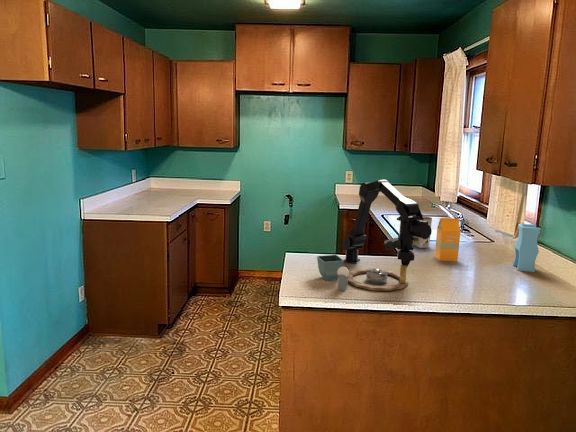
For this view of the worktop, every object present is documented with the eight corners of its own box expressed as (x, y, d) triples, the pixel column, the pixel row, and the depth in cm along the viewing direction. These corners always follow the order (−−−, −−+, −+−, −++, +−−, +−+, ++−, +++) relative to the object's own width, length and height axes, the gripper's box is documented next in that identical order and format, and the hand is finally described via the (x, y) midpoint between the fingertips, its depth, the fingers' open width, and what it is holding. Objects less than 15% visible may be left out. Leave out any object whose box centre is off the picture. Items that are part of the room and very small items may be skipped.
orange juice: (457, 261, 224) (461, 220, 220) (439, 260, 224) (442, 219, 220) (452, 256, 231) (456, 216, 228) (434, 256, 232) (437, 216, 228)
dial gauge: (338, 287, 185) (339, 264, 183) (349, 289, 183) (350, 266, 182) (336, 289, 183) (336, 266, 181) (346, 291, 181) (347, 268, 179)
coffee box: (409, 243, 255) (412, 214, 251) (420, 243, 256) (422, 214, 253) (419, 248, 246) (421, 217, 243) (429, 247, 248) (432, 217, 245)
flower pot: (323, 283, 190) (323, 261, 188) (316, 276, 198) (316, 255, 196) (343, 281, 192) (344, 260, 190) (335, 274, 200) (336, 254, 198)
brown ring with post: (400, 271, 205) (401, 253, 203) (412, 291, 181) (414, 271, 179) (344, 269, 206) (345, 251, 204) (349, 289, 182) (350, 269, 180)
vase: (535, 271, 210) (541, 228, 206) (516, 270, 211) (522, 227, 207) (530, 266, 217) (536, 224, 213) (512, 265, 219) (517, 223, 215)
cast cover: (369, 277, 199) (370, 265, 198) (389, 280, 195) (389, 268, 194) (363, 282, 191) (364, 270, 190) (383, 286, 188) (384, 273, 187)
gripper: (386, 226, 197) (383, 262, 200) (385, 237, 179) (383, 276, 182) (413, 228, 194) (410, 264, 198) (416, 239, 177) (412, 279, 180)
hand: (403, 270), depth 189 cm, fingers closed
